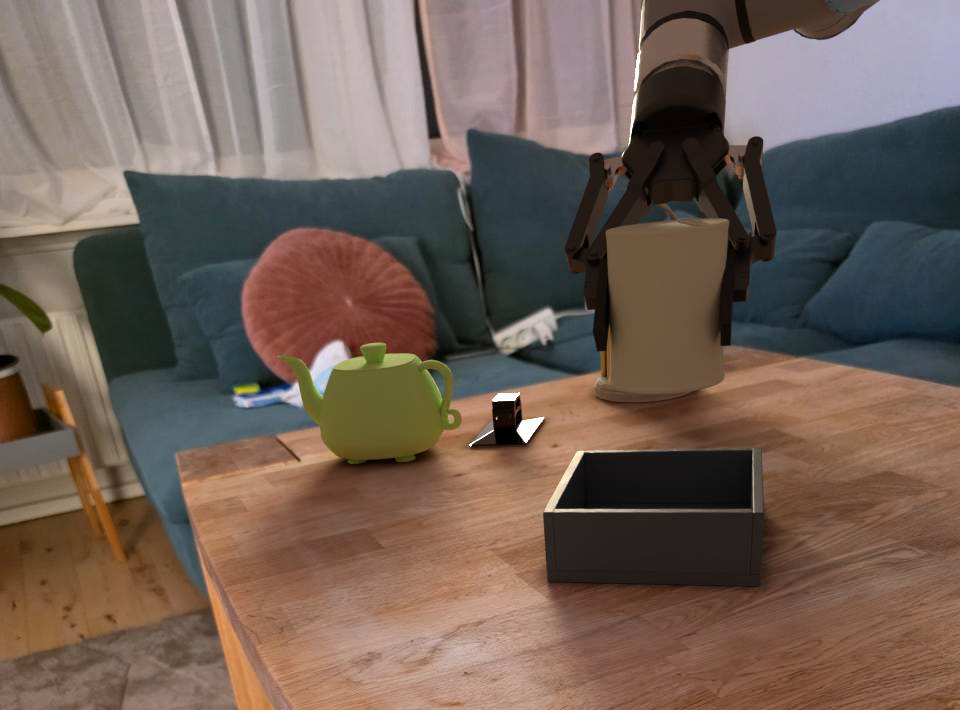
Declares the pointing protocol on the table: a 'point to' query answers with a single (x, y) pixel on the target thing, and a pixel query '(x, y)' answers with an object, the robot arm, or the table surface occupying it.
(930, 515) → the table surface
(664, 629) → the table surface
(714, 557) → the dark grey open box
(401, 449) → the teapot
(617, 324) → the can
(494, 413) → the dark brown finned block
